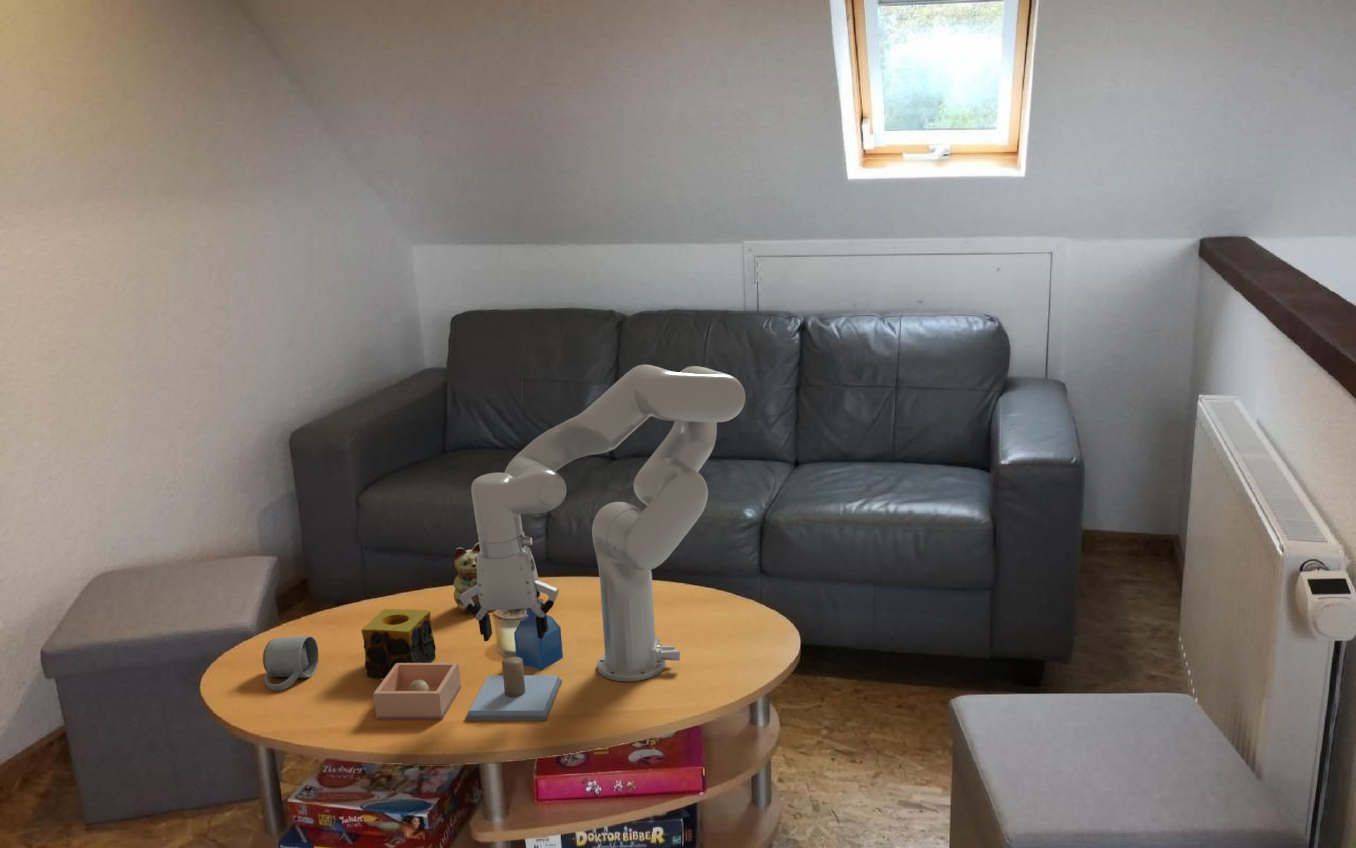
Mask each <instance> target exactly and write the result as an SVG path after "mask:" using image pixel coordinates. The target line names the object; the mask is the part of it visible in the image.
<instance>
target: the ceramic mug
mask: <svg viewBox="0 0 1356 848" xmlns="http://www.w3.org/2000/svg"><path fill="white" fill-rule="evenodd" d="M263 649H264V650H263V653H262V663H263V668H264V671H265V672H266V673H265V676H264V681H265V682H264V683H265V684H266V685H267V688H268V689H270V690H272V691H275V692H276V691H283V690H286V689H288V688H290V687H291V686H292V685H294V684H295V683H296V680H298V679H299V678H301V679H302V678H303V679H306V678H307V679H308V678H310V677H312V676H313V675H315V673H316V670H317V668H318V664H319V655H320V654H319V646H318V643H317V641H316V639H315V638H314V636H312V635H300V636H299V635H298V636H288V637H287V636H285V637H278V638H273V639H271V640H269V641H268V642H267V644H266V645H265V648H263ZM271 677H276V678H287V679H286V680H285V681H283V682H281V683H279V684H274V683H271V681H270V680H271Z"/></svg>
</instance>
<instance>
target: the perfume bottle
mask: <svg viewBox="0 0 1356 848" xmlns="http://www.w3.org/2000/svg"><path fill="white" fill-rule="evenodd" d="M539 599H540V600H541V601H543V602H544V599H542V598H539ZM525 610H526V615H527V616H526V617H523V618H522V619H521V620H520V621H519V623H518V625H517V626H516V629H515V631H514V632H513V634H514V635H513V636H514V645H515V646H514V647H515V648H514V649H515V657H520V658H522V660H523V666H524V667H525V666H526V667H528V668H532V669H536V670H540V671H543V670H545V669H546V668H548V667H550V666H551V665H553V664H555V663H556V662H558V661H560V660H561V659H563V658H564V652H563V644H562V643H563V641H562V640H563V639H562V631H561V630H562V629H561V628H562V627H561V626H560V625H559V624H558V623H557V622H556V620H555V619H554V618H553V617H552V616H551V615H548V614H546V615H547V622H548V631H547V632H545V635H544V637H543V639H539V638H538V633H537V626H536V617H537V614H536V613H535V612H533V611H532V610H531V609H530V608H526V609H525Z"/></svg>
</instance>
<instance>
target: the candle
mask: <svg viewBox="0 0 1356 848" xmlns="http://www.w3.org/2000/svg"><path fill="white" fill-rule="evenodd" d="M431 615H432V614H431V610H427V609H399V608H398V609H397V608H396V609H394V608H385V609H383V610H381V611H380V612H379V613H378V614H377V615H376V616H375V617H374V618H373V619H372V620H371V621H369V622H368V623H367V624H366V625H365V626H364V627H362V628H361V635H362V639H363V649H364V657H365V658H364V659H365V660H364V669H365V670H366V677H367V678H368V679H377V680H384V679H385V677H386V676H387V675H388V673H389V672H390V671H391V669H392V668H393V667H394V665H395V664H396V663H433V662H434V661H435V659H436V655H437V654H436V647H437V646H436V644H435V637H434V633H433V625H432V618H431V617H432V616H431Z"/></svg>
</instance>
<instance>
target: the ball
mask: <svg viewBox="0 0 1356 848" xmlns="http://www.w3.org/2000/svg"><path fill="white" fill-rule="evenodd" d="M408 691H429V687H428V685H427V683H426V682H425V681H423V680H415V681H413V682H412V683H411V684H410V685H409V688H408Z"/></svg>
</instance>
